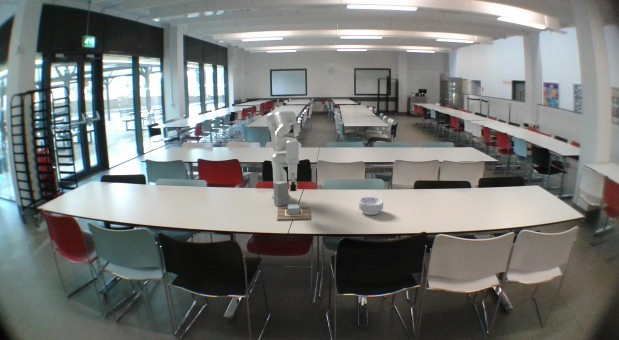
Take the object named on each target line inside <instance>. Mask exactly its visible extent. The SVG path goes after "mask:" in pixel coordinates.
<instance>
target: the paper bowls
mask: <svg viewBox="0 0 619 340" xmlns="http://www.w3.org/2000/svg"><path fill="white" fill-rule="evenodd" d="M358 209H359V210H360V211H361V212H362V213H363V214H364V215H367V216H368V215H369V216H375V215H378V214H379V213H380V212H382V211H383V210H384V201H383V200H382V199H381V198H378V197H374V196H366V197H361V198H360V199H358Z"/></svg>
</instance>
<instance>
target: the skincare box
mask: <svg viewBox="0 0 619 340" xmlns="http://www.w3.org/2000/svg"><path fill="white" fill-rule="evenodd" d="M273 194H274V198H273V205H275V206H277V208H278V207H286V206H288V205H290V204H289V203H290V202H289V201H290V200H289V199H290V195H289V196H288V194H289V181H287V182H285V181H278V182H274V183H273Z"/></svg>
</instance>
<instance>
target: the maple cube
mask: <svg viewBox="0 0 619 340" xmlns="http://www.w3.org/2000/svg"><path fill="white" fill-rule="evenodd" d="M294 182H295V185H296V191H295V192H298V181H297V180H295V181H294ZM288 192H292V191H291V180H288Z"/></svg>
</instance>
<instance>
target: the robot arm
mask: <svg viewBox="0 0 619 340" xmlns="http://www.w3.org/2000/svg"><path fill="white" fill-rule="evenodd" d="M296 122H297V115H296V113H295V112H294V111H292V110H281V111H277V112H272V113H268V114H267V115H266V124H267V127H268V129H269V132H270V140H271V147H272V151H274V152H276V153H274V154H273V155H272V156H271V159H270V160H271V161H270V162H271V166H272V178H273V179H272V180H273V183H274V182H278V181H285V182H288V181H291V191H290V192H297V191H296V185H295V182H294V181H297V179H298V178H297V177H298V176H297V175H298V164H300V153H299V152H300V151H299V150H300V147H299V143H300V142H299V141H298V140H297V138H295V137H284V136H285V135H287V134H289V132H290V131H291V129H292V127H291V125H294V124H295V123H296ZM277 152H278V153H277ZM281 152H283V153H281ZM286 167H287V171H288V172H287V171H286V170H285V168H286ZM287 174H288V175H287ZM287 178H288V179H287ZM287 180H288V181H287ZM288 196H289V197H290V194H289V193H288ZM271 197H272V199H274V193H272V194H271Z"/></svg>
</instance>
